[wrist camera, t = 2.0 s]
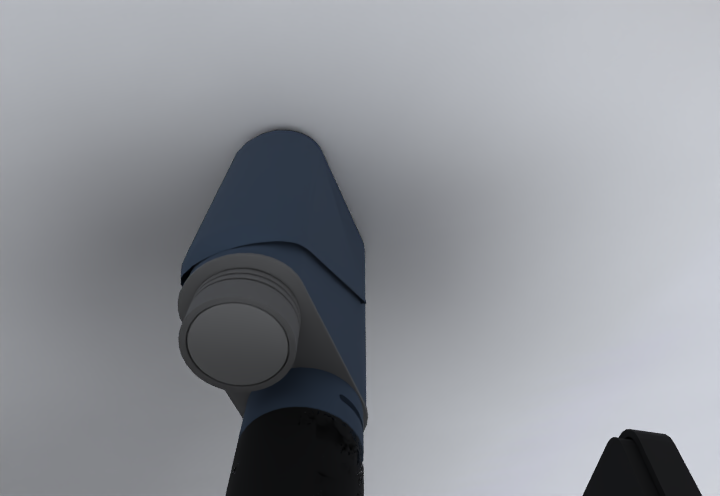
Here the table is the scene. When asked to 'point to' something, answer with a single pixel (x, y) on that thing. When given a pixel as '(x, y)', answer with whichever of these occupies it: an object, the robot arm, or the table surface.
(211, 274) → the vaping device
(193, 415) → the table surface
